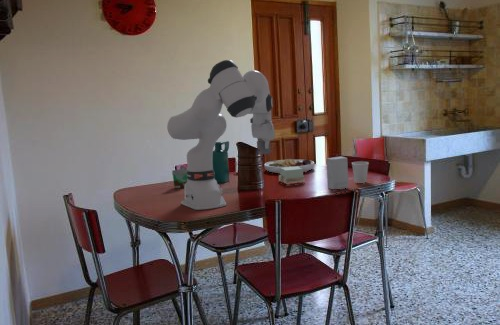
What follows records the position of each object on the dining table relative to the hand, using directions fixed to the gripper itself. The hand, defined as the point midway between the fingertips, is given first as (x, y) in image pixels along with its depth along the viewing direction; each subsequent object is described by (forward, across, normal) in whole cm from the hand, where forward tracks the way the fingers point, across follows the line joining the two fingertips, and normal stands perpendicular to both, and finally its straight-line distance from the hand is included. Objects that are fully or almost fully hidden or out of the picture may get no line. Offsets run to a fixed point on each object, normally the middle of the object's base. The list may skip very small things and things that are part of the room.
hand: (263, 148), depth 214 cm
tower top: (+16, +5, -17) cm, 24 cm away
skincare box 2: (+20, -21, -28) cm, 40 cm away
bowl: (+20, +40, -33) cm, 56 cm away
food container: (+20, +28, +35) cm, 49 cm away
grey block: (+3, 0, 0) cm, 3 cm away
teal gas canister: (+20, +31, +13) cm, 39 cm away
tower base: (+20, +5, -17) cm, 27 cm away
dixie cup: (+20, -15, -45) cm, 52 cm away
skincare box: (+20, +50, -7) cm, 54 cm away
